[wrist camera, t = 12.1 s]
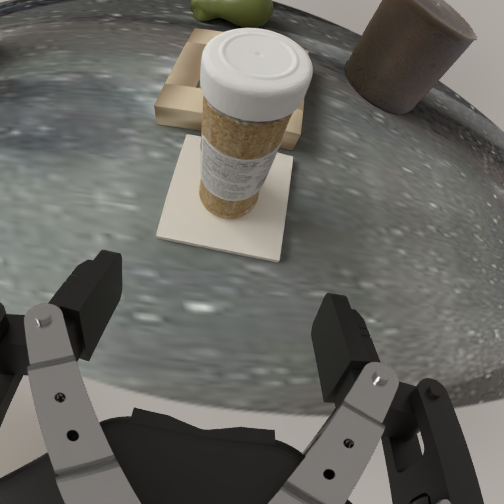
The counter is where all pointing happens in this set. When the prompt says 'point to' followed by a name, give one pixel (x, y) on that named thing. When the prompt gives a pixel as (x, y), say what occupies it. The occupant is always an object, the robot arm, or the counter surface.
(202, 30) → the collar
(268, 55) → the sprinkles bottle
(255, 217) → the tile
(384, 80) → the pillar candle
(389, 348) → the counter surface
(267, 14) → the pear
